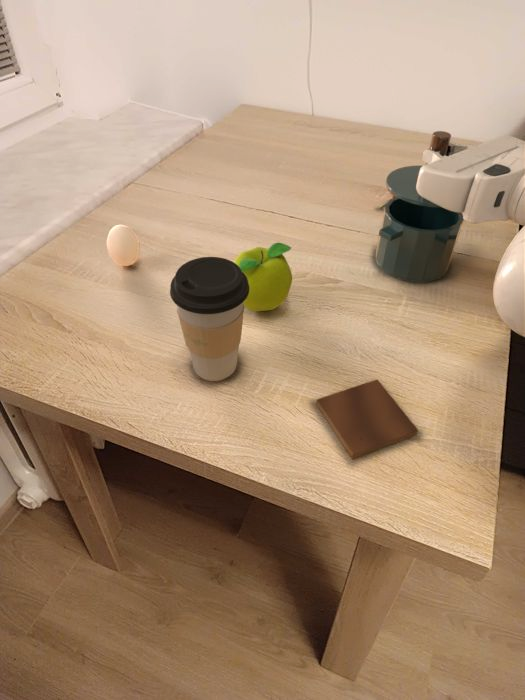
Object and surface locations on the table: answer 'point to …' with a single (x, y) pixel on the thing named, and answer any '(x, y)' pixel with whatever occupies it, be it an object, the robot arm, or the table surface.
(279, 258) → the fruit
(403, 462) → the table surface
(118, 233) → the egg
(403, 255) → the pot
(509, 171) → the robot arm
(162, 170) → the table surface
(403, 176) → the lid
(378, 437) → the plate
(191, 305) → the coffee cup
